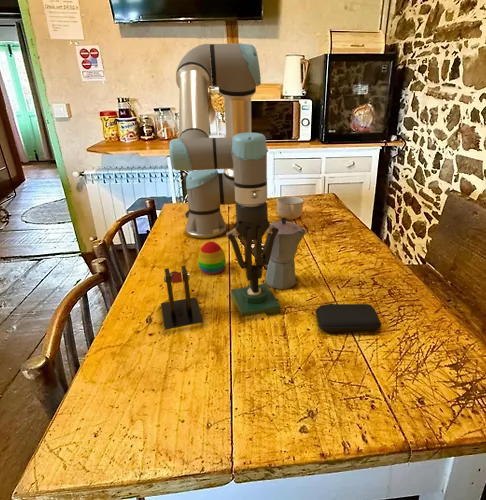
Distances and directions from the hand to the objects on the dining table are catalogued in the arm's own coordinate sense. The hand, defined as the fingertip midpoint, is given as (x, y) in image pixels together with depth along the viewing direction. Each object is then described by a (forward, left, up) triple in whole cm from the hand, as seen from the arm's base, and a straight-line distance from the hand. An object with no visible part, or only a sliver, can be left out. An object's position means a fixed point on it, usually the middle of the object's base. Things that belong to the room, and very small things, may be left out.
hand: (254, 289), depth 102 cm
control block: (0, 0, -5) cm, 5 cm away
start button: (0, 0, -2) cm, 2 cm away
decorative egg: (-22, -7, -5) cm, 24 cm away
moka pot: (-9, +10, -5) cm, 14 cm away
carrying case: (+15, +19, -5) cm, 25 cm away
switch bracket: (-1, -19, -5) cm, 20 cm away
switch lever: (-5, -19, +3) cm, 20 cm away
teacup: (-58, +32, -5) cm, 66 cm away
